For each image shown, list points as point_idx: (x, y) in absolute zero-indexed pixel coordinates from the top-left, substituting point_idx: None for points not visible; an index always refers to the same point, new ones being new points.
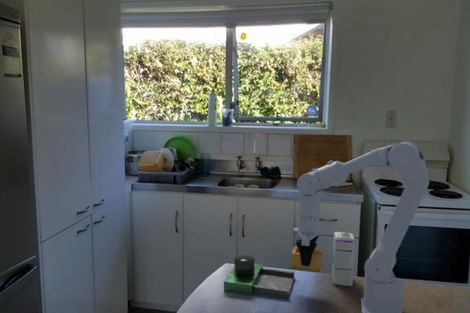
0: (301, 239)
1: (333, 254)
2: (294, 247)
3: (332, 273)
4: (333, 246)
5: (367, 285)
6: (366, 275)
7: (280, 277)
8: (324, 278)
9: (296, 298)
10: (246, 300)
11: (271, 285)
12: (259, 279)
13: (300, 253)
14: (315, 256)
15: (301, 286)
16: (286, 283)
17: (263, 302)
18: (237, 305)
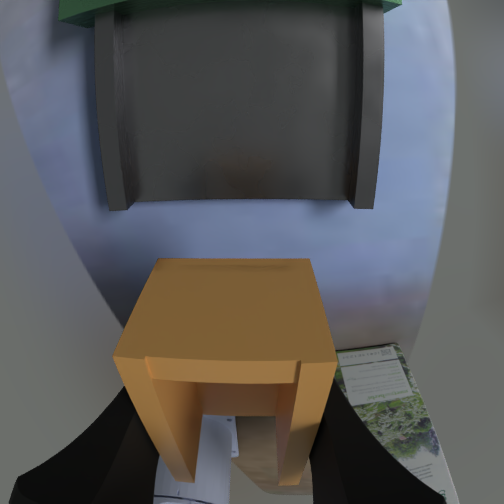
0: (344, 493)
1: (386, 442)
2: (316, 370)
3: (394, 353)
4: (426, 458)
5: (157, 476)
6: (160, 501)
7: (323, 123)
8: (377, 320)
9: (142, 231)
10: (47, 30)
11: (195, 89)
12: (254, 6)
13: (90, 430)
14: (169, 466)
15: (274, 239)
16: (252, 168)
17: (53, 102)
18: (10, 24)
